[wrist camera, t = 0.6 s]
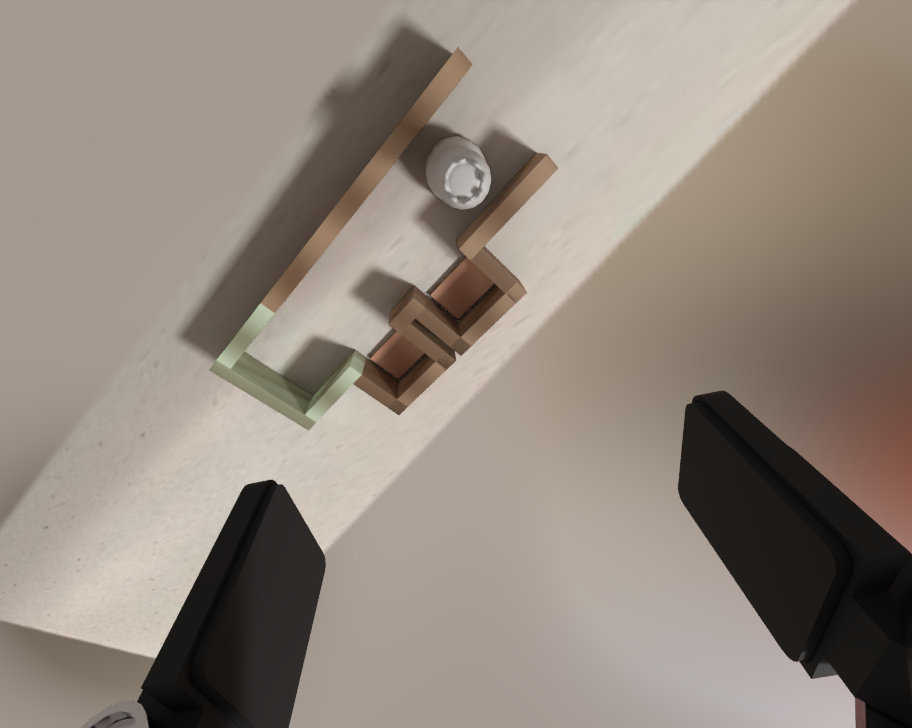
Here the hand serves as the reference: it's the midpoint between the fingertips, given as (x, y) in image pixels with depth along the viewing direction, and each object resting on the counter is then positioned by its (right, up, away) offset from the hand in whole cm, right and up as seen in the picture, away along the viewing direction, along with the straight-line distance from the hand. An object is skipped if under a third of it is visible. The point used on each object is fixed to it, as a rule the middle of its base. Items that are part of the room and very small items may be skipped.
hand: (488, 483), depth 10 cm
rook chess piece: (-1, +17, +21) cm, 27 cm away
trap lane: (-6, +9, +25) cm, 27 cm away
